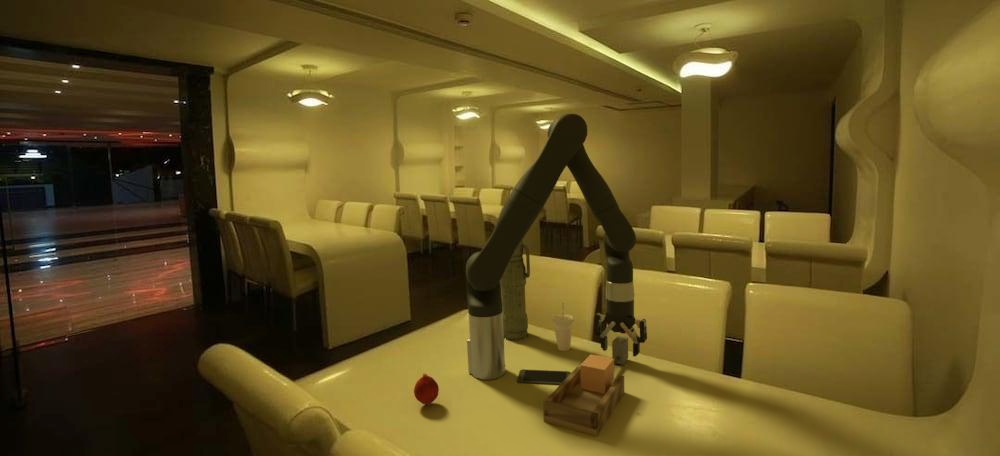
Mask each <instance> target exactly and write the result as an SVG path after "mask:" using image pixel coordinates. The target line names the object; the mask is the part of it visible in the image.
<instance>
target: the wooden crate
mask: <svg viewBox="0 0 1000 456" xmlns="http://www.w3.org/2000/svg"><path fill="white" fill-rule="evenodd" d="M624 395H625V375H623V374H618V376H617V378H616V379H614V382H613V384H612V385H611V387H610V388H609V389H608V391H607V392H606V393H605V394H602V393H598V392H593V391H589V390H585V389H581V371H580V366H576V367H575V369H573V370H572V372H571V374H570V375H569V376H568V377H567V378H566V379H565V380H564V381H563V382H562V383H561V384H560V385H557V387H556V388H555V389H554V390H553V391H552V393H550V395H549V396H547V398H546V399H545V400H544V401H543V403H542V404H543V405H542V406H543V407H542V409H543V410H542V411H543V423H547V424H551V425H554V426H558V427H561V428H563V429H564V428H565V429H568V430H573V431H575V432H579V433H583V434H587V435H590V436H594V437H597V436H598V435H599V434H600V432H601V430H602V428H603V427H604V426H605V424H606V422H607V421H608V420H609V418H610V416H611V415H612V413H613V412H614V410H615V409H616V407H617V406H618V404H619V403H620V401H621V400H622V398H623V396H624Z"/></svg>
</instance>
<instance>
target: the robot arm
mask: <svg viewBox="0 0 1000 456" xmlns="http://www.w3.org/2000/svg"><path fill="white" fill-rule="evenodd" d="M587 136H588V125H587V122H586V120H585V119H584V117H582V116H581V115H579V114H578V113H566V114H562V115H560V116H558V117H557V118H556V119H554V120H552V122H551V123H550V124H549V127H548V129H547V140H546V142H545V144H544V146H543V148H542V150H541V151H540V153H539V155H538V156H537V158H536V159H535V160H534V162H533V163H532V164H531V165H530V167H528V168H527V170H526V171H525V172H524V173H523V175H521V177H520V178H519V180H518V181H517V183H516V184H515V185H514V187H513V188H512V190H511V192H510V193H509V195H508V197H507V198H506V200H505V201H504V204H503V206H502V208H501V210H500V213H499V215H498V218H497V221H496V224H495V225H494V228H493V231H492V232H491V234H490V237H489V239H488V240H487V242H486V243H485V245H483V247H482V249H481V250H480V251H477V252H474V253H473V254H471V256H469V258H467V261H466V265H465V280H466V283H465V284H466V299H467V313H468V327H469V338H468V339H467V340H466V348H467V349H466V350H467V351H466V352H467V367H468V374H470V373H471V375H472V376H473V377H474V378H476V379H478V378H479V380H484V381H485V380H486V381H488V380H496V379H498V378H501V377H502V376H503V375H505V374H506V359H505V357H506V355H505V354H506V353H505V339H504V331H503V309H502V298H501V287H500V280H501V278H502V276H503V274H504V271H505V269H506V267H507V265H508V263H509V261H510V259H511V257H512V255H513V253H514V251H515V249H516V248H517V246H518V245H519V243H520V242H521V241H522V240H523V239H524V237H526V235H527V233H528V232H529V231H530V229H531V227H532V226H533V224H534V223H535V221H536V220H537V219H538V217H539V215H540V214H541V212H542V210H543V208H544V207H545V205H546V204H547V201H548V200H549V198H550V196H551V195H552V192H553V191H554V189H555V187H556V185H557V183H558V181H559V179H560V177H561V175H562V173H563V172H564V170H565V168H566V167H567V168H568V169H569V171H570V174H571V176H572V177H573V179H574V180H575V182H576V184H577V186H578V188H579V190H580V192H581V193H582V196H583V197H584V200H585V202H586V205H587V206H588V208H589V209H590V211H591V214H592V216H593V217H594V218H595V220H596V221H597V222H598V223H599V224H600V226H601V228H602V229H603V231H604V233H603V247H604V255H605V260H606V286H605V314H602V313H601V312H598V313H596V314H595V315H594V326H593V327H594V328H593V334H594V335H595V336H598V337H599V338H600V348H601V349H602V351H604V352H606V351H607V350H608V336H607V335H608V334H609V333H610V332H611V331H612V332H613V333H620V334H623V335H624V334H626V335H627V337H628V338H630V339H631V340H632V342H633V343H632V357H637V356H638V355H639V354H640V350H641V349H640V347H641V346H640V345H641V344H645V343H646V341H647V339H648V332H647V331H648V329H647V328H648V327H647V320H646V319H645V318H642V319H636V317H635V286H634V266H633V262H632V260H631V257H630V251H631V250H634V249H633V248H635V245H636V243H637V235H636V233H635V230H634V229H633V227H632V225H631V224H630V222H629V220H628V218H627V217H626V216H625V214H624V213H623V212H622V210H621V209H620V207H619V204H618V202H617V200H616V197H615V196H614V193H613V192H612V190H611V188H610V186H609V185H608V183H607V182H606V180H605V179H604V177H603V175H601V173H600V172H599V171H598V169H597V168H596V167H595V165H594V164H593V162H592V160H591V158H590V156H589V154H588V153H587V150H586V148H585V145H584V143H585V141H586V139H587V138H588V137H587ZM603 321H605V323H606V325H607V327H606V328H605V329H604V330H602V322H603ZM634 325H636V326H637V328H638V329H639V335H638V333H637V331H636V329H635V328H634Z"/></svg>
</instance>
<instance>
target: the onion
mask: <svg viewBox="0 0 1000 456" xmlns="http://www.w3.org/2000/svg"><path fill="white" fill-rule="evenodd" d="M439 391H440V388H439V385H438V382H437V381H436V380H435V379H434V378H433V376H430V375H428V374H427V372H423V373H422V376H421V377H420V378H419V379H417V380H416V383H415V385H414V388H413V394H414V397H415V399H416V400H417V401H418V402H419V403H421V404H423V405H424V404H425V405H424V406H429V405H430V404H432V403H433V402H434V401H435V400H436V399H437V398H438V396H439ZM428 404H429V405H428Z"/></svg>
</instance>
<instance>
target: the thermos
mask: <svg viewBox="0 0 1000 456" xmlns="http://www.w3.org/2000/svg"><path fill="white" fill-rule="evenodd" d="M523 242H524V240H523V239H522V241H521V242H520V243H519V245H518V246H517V248H516V249H515V251H514V253H513V255H512V257H511V259H510V261H509V263H508V265H507V267H506V269H505V271H504V274H503V276H502V278H501V280H500V289H501V298H502V309H503V331H504V338H506V339H505V340H507V339H512V340H511V341H517V340H516V339H521V340H524V339H526V338H527V337H528V336H529V334H528V329H529V323H528V322H529V318H528V314H527V309H526V285H527V278H530V277H531V275H530V274H531V266H530V265H531V263H530V249H529V247H528V246H527V245H525V244H524V243H523ZM524 250H525V258H526V259H525V260H526V261H525V262H524ZM525 265H526V266H525ZM527 335H528V336H527ZM525 337H526V338H525ZM523 338H524V339H523Z"/></svg>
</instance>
